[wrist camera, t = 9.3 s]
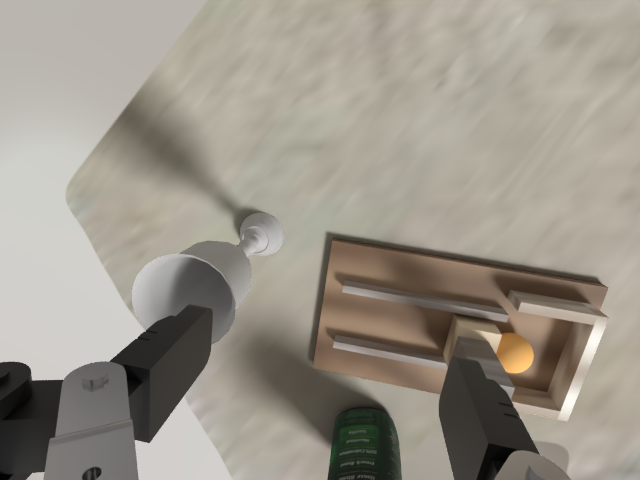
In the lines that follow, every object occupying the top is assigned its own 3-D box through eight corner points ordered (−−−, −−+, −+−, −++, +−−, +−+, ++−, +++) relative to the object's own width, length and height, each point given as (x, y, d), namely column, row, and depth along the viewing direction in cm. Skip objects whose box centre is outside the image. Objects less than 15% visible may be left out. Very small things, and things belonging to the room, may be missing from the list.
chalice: (245, 271, 43) (160, 361, 26) (220, 217, 42) (113, 273, 24) (302, 251, 41) (253, 333, 24) (279, 195, 40) (208, 238, 23)
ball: (546, 350, 35) (528, 329, 39) (504, 342, 36) (490, 322, 39) (534, 385, 36) (517, 361, 40) (493, 377, 37) (480, 354, 41)
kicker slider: (453, 313, 39) (480, 369, 30) (492, 320, 39) (531, 379, 29) (442, 353, 41) (464, 420, 31) (480, 361, 40) (513, 430, 31)
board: (333, 238, 40) (328, 248, 37) (602, 284, 38) (628, 300, 34) (313, 363, 45) (308, 384, 41) (553, 411, 42) (571, 439, 38)
